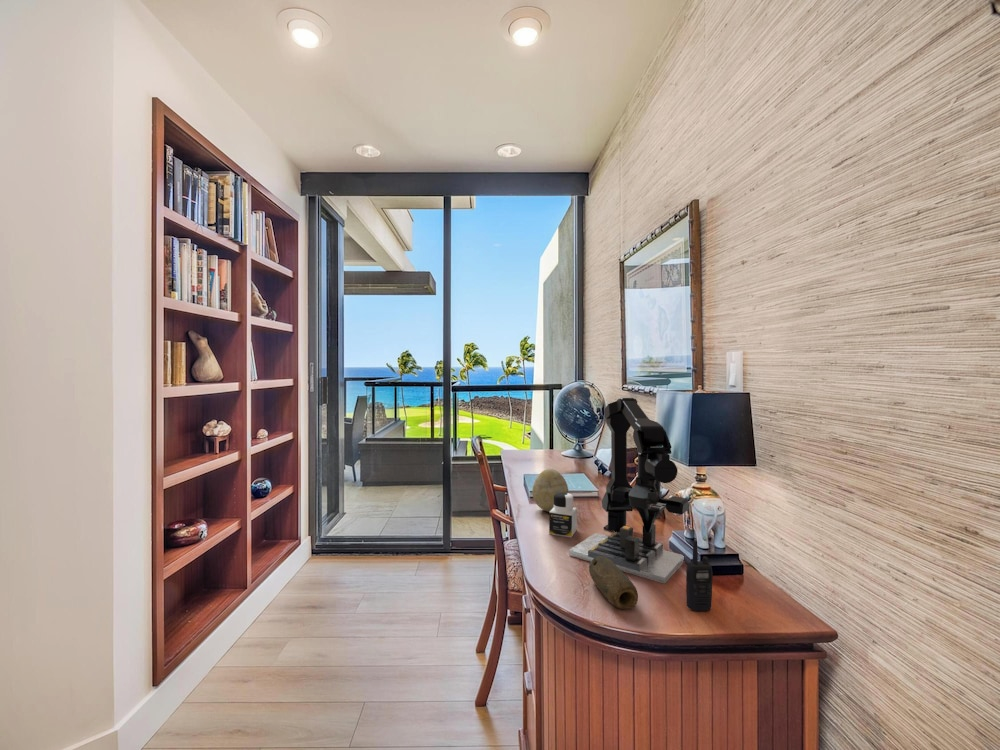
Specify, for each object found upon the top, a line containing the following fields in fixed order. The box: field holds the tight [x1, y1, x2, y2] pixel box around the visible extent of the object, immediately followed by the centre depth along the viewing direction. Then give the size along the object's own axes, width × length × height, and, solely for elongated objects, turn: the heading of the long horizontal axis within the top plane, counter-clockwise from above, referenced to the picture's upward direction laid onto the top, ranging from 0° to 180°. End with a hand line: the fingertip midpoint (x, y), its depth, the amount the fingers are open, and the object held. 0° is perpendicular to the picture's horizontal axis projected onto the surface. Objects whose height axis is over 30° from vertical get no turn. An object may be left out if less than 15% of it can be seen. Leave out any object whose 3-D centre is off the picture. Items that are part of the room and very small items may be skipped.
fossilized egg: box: [532, 468, 569, 512], centre depth 164 cm, size 13×13×15 cm
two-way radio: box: [685, 539, 714, 612], centre depth 100 cm, size 6×4×15 cm
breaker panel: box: [568, 523, 684, 584], centre depth 124 cm, size 17×26×8 cm, turn 52°
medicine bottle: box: [548, 492, 578, 538], centre depth 143 cm, size 7×7×12 cm
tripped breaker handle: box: [620, 525, 634, 548], centre depth 124 cm, size 3×2×5 cm
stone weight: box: [588, 556, 639, 610], centre depth 105 cm, size 15×7×7 cm, turn 16°
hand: (648, 531), depth 121 cm, fingers closed
